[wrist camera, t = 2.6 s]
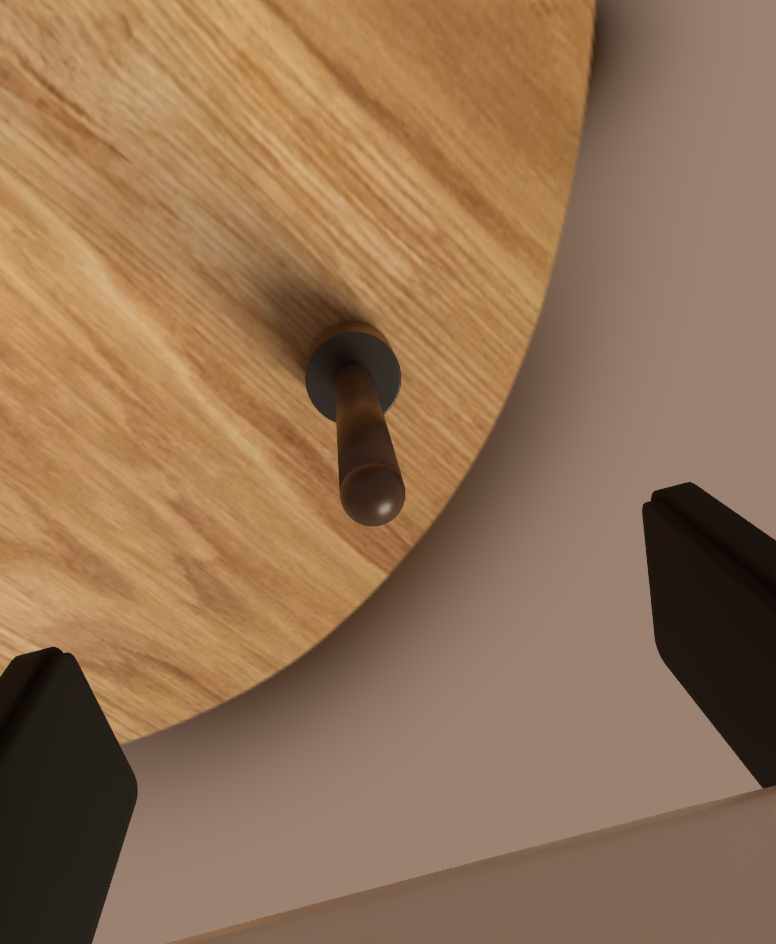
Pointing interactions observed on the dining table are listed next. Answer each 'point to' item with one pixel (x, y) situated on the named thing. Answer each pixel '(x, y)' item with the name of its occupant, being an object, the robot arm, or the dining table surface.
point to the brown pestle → (359, 416)
